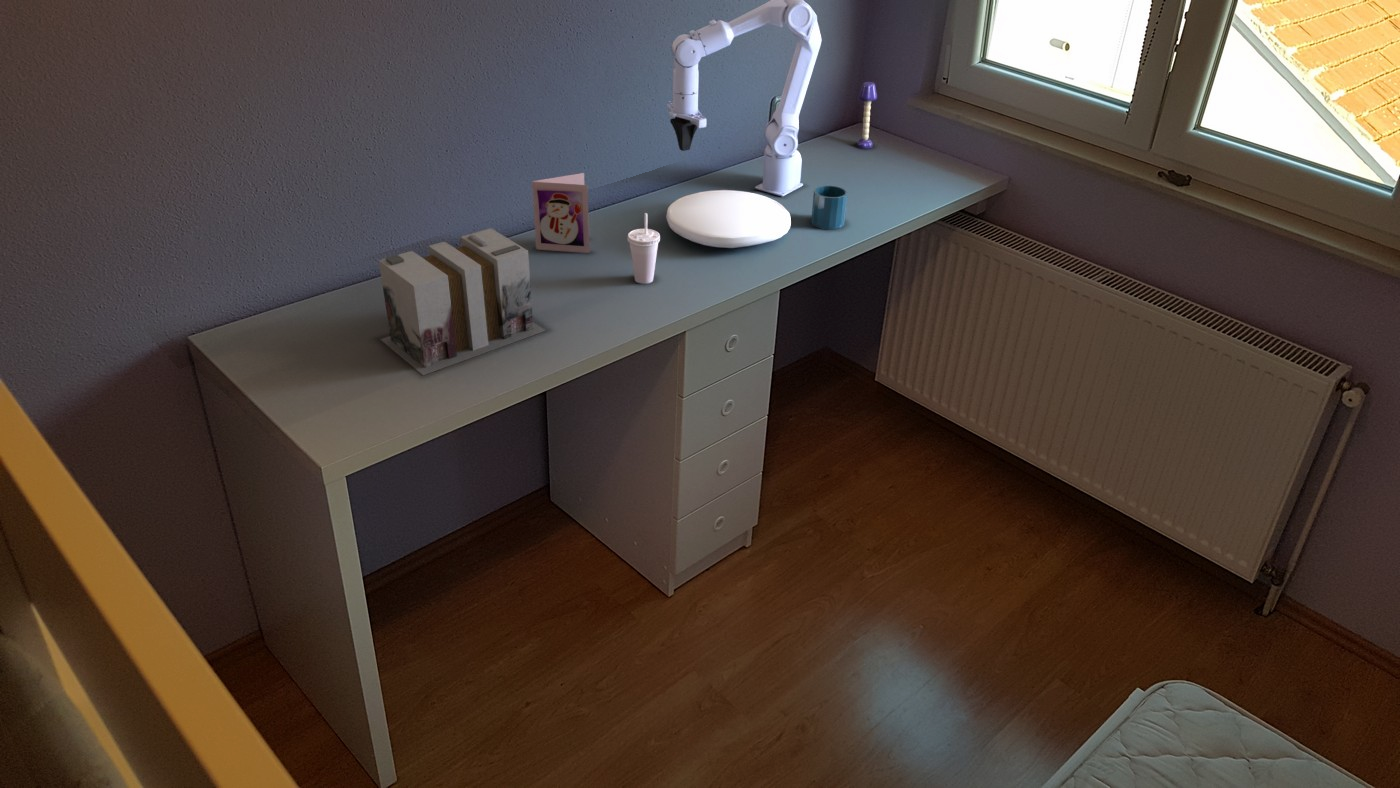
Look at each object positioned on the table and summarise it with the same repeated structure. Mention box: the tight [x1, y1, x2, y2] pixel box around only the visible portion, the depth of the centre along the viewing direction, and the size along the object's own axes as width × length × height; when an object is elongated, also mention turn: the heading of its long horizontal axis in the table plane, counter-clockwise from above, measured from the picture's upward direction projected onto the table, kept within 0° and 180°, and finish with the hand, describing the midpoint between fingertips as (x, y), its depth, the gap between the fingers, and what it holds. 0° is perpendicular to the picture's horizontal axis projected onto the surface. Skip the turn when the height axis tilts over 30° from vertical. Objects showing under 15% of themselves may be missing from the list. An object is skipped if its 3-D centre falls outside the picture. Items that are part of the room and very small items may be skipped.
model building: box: [378, 227, 547, 376], centre depth 189 cm, size 16×25×16 cm, turn 131°
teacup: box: [810, 184, 848, 231], centre depth 238 cm, size 7×7×8 cm
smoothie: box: [627, 212, 661, 285], centre depth 210 cm, size 6×6×14 cm
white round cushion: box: [666, 189, 792, 249], centre depth 234 cm, size 28×6×27 cm
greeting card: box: [531, 172, 591, 254], centre depth 223 cm, size 11×7×15 cm, turn 83°
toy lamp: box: [855, 81, 878, 150], centre depth 279 cm, size 5×5×17 cm
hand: (684, 149), depth 248 cm, fingers closed
